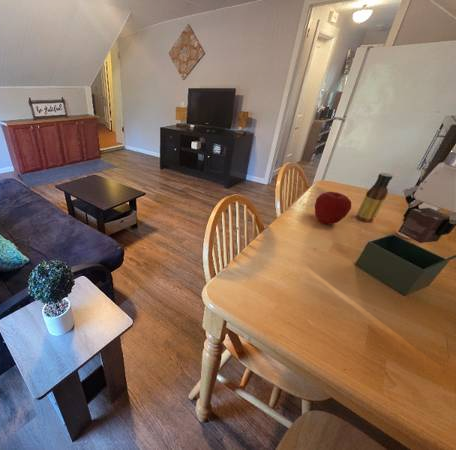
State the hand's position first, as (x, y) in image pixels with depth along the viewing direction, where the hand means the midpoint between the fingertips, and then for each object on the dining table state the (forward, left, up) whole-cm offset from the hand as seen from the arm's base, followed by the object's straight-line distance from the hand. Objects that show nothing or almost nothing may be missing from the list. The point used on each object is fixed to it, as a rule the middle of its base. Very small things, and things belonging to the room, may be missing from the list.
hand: (423, 226), depth 66 cm
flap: (-8, 0, -4) cm, 9 cm away
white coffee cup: (+12, -30, -18) cm, 37 cm away
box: (0, 0, -3) cm, 3 cm away
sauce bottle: (+26, -28, -18) cm, 42 cm away
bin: (0, 0, -17) cm, 17 cm away
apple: (+30, -10, -18) cm, 36 cm away
